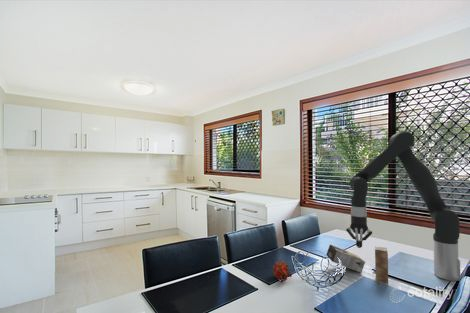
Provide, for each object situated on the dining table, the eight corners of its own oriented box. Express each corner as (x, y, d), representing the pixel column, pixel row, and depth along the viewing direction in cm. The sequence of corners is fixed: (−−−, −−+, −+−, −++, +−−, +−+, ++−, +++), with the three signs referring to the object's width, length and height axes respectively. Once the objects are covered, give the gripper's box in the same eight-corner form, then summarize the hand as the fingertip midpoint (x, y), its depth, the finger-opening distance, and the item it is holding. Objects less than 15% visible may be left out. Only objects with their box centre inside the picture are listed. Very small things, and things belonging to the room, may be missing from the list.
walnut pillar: (387, 279, 118) (387, 247, 119) (388, 283, 114) (387, 251, 114) (375, 276, 121) (374, 246, 121) (376, 281, 116) (375, 249, 117)
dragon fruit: (279, 275, 127) (286, 291, 115) (266, 266, 126) (271, 281, 114) (289, 262, 126) (297, 276, 114) (276, 254, 125) (282, 267, 113)
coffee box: (353, 266, 134) (325, 254, 134) (357, 255, 134) (329, 243, 134) (361, 273, 124) (331, 261, 125) (366, 261, 125) (336, 249, 125)
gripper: (372, 214, 130) (373, 247, 130) (345, 212, 137) (346, 243, 136) (373, 217, 124) (373, 251, 124) (344, 214, 130) (345, 247, 130)
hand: (359, 247), depth 130 cm, fingers closed
